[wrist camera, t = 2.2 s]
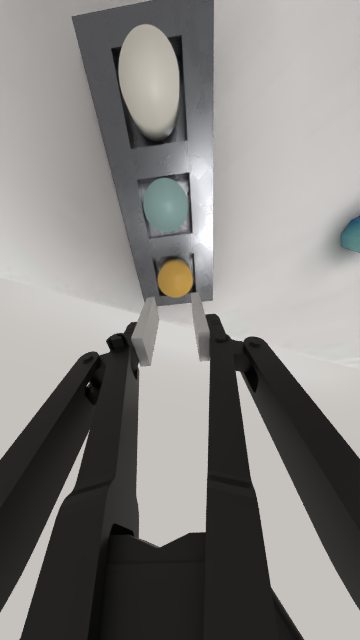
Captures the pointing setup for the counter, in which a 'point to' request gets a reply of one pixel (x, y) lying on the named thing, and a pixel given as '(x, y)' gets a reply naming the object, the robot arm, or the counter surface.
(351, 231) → the cup
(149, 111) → the button ivory
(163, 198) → the button teal
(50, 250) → the counter surface
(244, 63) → the counter surface
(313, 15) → the counter surface
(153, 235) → the console
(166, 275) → the button amber
